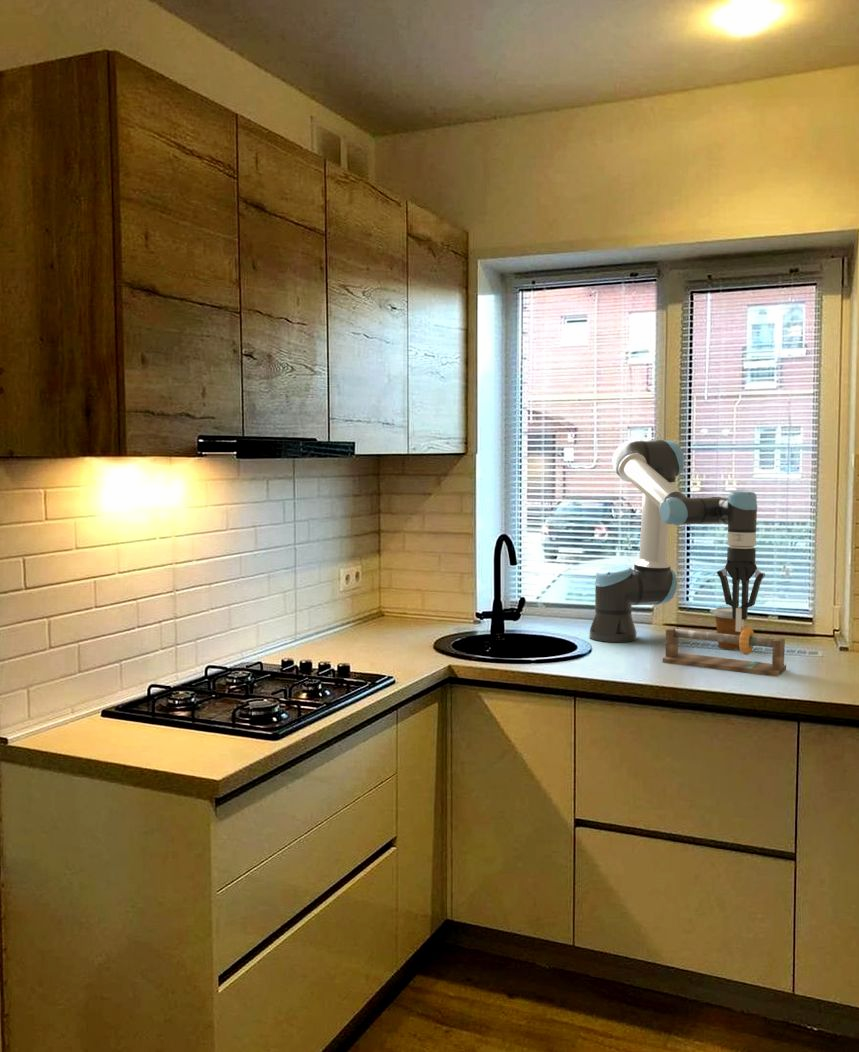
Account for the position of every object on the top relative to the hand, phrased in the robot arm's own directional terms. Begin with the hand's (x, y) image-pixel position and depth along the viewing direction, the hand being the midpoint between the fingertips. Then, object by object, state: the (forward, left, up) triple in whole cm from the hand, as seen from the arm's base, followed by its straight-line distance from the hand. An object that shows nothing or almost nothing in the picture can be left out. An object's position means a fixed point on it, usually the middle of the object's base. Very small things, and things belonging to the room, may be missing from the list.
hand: (739, 630), depth 263 cm
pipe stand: (-4, 0, -11) cm, 11 cm away
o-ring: (+2, 0, -7) cm, 7 cm away
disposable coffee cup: (-10, +27, -11) cm, 31 cm away
